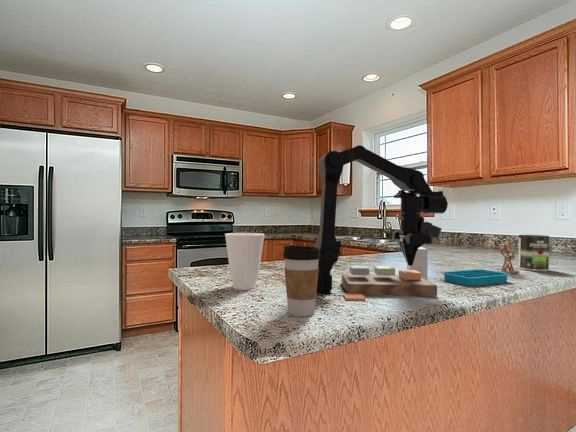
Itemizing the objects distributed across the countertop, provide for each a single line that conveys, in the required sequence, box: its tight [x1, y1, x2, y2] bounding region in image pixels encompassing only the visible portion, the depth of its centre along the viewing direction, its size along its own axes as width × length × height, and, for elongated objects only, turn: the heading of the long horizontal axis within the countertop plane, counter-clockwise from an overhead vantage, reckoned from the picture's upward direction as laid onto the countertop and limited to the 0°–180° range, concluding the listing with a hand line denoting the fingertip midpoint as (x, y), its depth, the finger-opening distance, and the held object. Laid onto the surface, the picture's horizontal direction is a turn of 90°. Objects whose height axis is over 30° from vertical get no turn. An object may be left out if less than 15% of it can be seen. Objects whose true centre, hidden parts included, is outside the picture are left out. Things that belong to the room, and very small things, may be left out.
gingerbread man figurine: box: [496, 241, 520, 276], centre depth 128 cm, size 9×4×12 cm, turn 117°
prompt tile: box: [343, 292, 366, 302], centre depth 89 cm, size 5×5×1 cm
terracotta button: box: [398, 269, 421, 280], centre depth 100 cm, size 5×5×2 cm
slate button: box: [349, 265, 370, 275], centre depth 101 cm, size 5×5×2 cm
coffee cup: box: [282, 244, 321, 318], centre depth 75 cm, size 8×8×15 cm
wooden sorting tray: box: [341, 273, 438, 297], centre depth 99 cm, size 24×15×3 cm, turn 88°
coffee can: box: [517, 234, 551, 272], centre depth 139 cm, size 10×10×14 cm
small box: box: [406, 246, 428, 280], centre depth 119 cm, size 8×6×10 cm
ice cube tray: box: [441, 268, 511, 287], centre depth 113 cm, size 12×20×3 cm, turn 112°
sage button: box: [373, 265, 396, 276], centre depth 101 cm, size 5×5×2 cm
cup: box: [224, 232, 265, 291], centre depth 101 cm, size 12×12×16 cm
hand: (410, 265), depth 100 cm, fingers closed
